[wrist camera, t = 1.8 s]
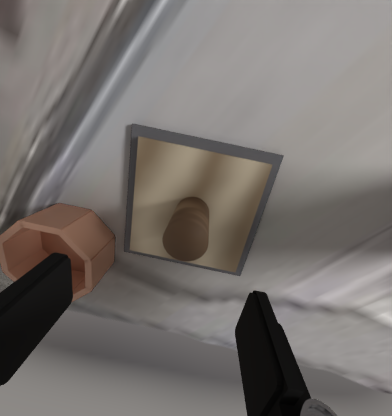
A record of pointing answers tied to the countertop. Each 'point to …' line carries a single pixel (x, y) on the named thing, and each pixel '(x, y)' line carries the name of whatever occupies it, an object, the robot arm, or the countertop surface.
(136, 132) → the mat
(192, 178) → the cover
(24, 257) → the bowl
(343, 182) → the countertop surface
